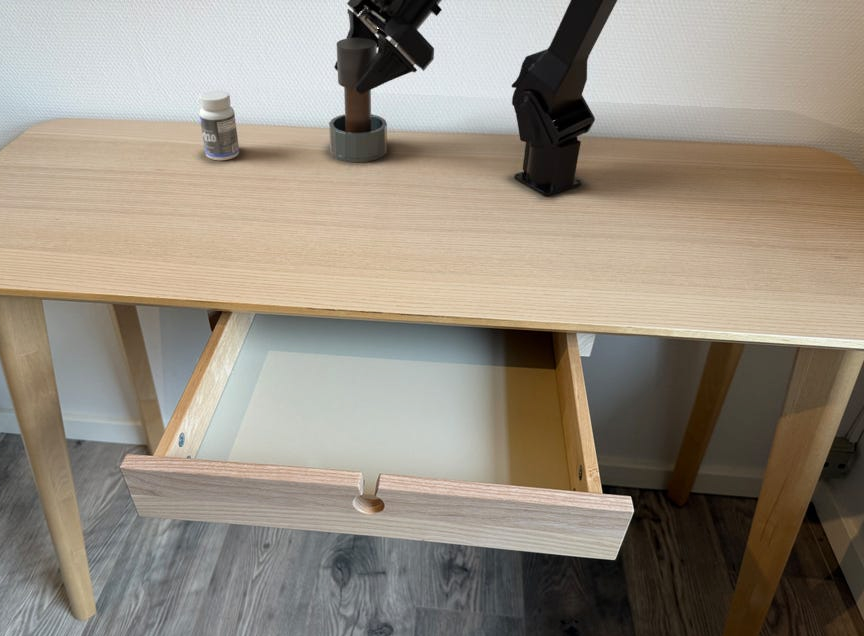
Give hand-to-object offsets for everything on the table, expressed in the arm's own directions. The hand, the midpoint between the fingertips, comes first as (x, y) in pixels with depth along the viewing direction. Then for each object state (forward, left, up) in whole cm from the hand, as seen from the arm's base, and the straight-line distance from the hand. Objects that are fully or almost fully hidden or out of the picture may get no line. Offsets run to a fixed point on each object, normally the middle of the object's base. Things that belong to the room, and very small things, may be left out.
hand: (346, 80), depth 95 cm
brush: (0, -1, -9) cm, 9 cm away
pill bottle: (+9, +16, -10) cm, 21 cm away
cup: (0, -1, -10) cm, 10 cm away
